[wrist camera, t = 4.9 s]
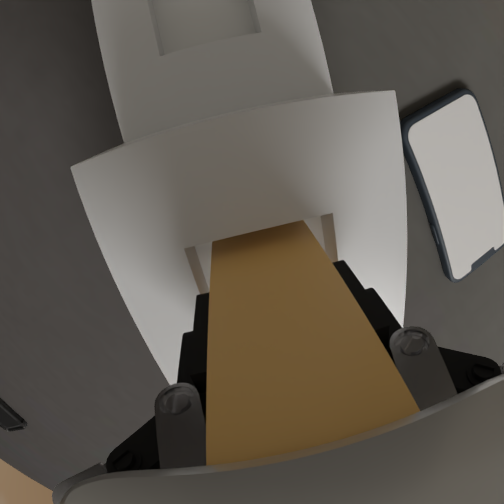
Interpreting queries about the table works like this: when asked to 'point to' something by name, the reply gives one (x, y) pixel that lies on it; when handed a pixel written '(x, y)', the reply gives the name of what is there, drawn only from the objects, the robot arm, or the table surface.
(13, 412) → the phone
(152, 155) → the white stepped socket block
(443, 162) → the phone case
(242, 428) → the plug
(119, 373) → the table surface
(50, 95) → the table surface
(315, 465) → the robot arm
